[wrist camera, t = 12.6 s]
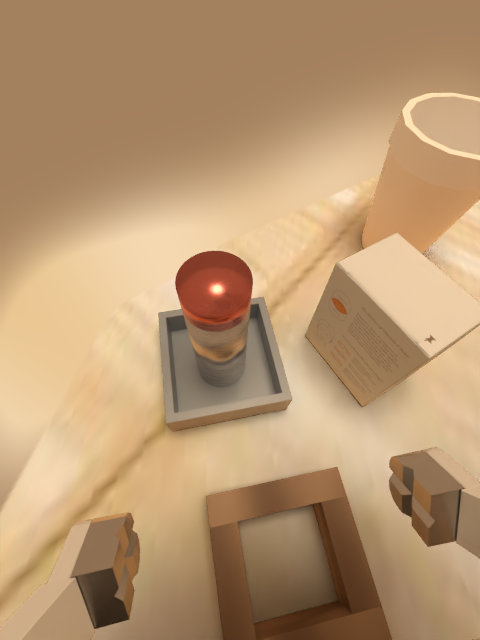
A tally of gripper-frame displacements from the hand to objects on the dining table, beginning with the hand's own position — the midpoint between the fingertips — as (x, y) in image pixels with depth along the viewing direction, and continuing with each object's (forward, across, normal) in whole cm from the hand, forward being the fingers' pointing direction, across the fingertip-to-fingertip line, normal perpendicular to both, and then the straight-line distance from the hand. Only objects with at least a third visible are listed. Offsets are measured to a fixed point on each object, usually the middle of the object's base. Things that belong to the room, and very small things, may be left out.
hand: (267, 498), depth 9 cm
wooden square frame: (+7, -2, +13) cm, 15 cm away
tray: (+17, 0, +3) cm, 18 cm away
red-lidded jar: (+17, 0, +3) cm, 17 cm away
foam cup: (+26, -20, -4) cm, 33 cm away
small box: (+17, -12, +4) cm, 21 cm away
